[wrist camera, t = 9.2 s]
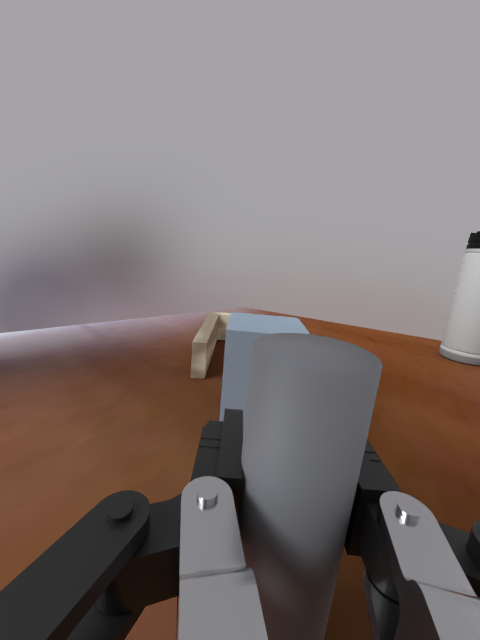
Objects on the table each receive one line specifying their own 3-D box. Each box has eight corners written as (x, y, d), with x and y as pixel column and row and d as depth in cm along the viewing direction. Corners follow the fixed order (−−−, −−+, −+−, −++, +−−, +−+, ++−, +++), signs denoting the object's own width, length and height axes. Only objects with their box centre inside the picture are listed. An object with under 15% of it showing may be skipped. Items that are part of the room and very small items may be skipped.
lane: (190, 377, 30) (192, 341, 29) (208, 336, 45) (210, 311, 44) (312, 388, 30) (318, 352, 29) (289, 343, 45) (293, 318, 44)
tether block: (170, 713, 8) (184, 363, 6) (225, 392, 27) (233, 278, 25) (375, 734, 8) (480, 390, 6) (287, 398, 27) (302, 284, 25)
